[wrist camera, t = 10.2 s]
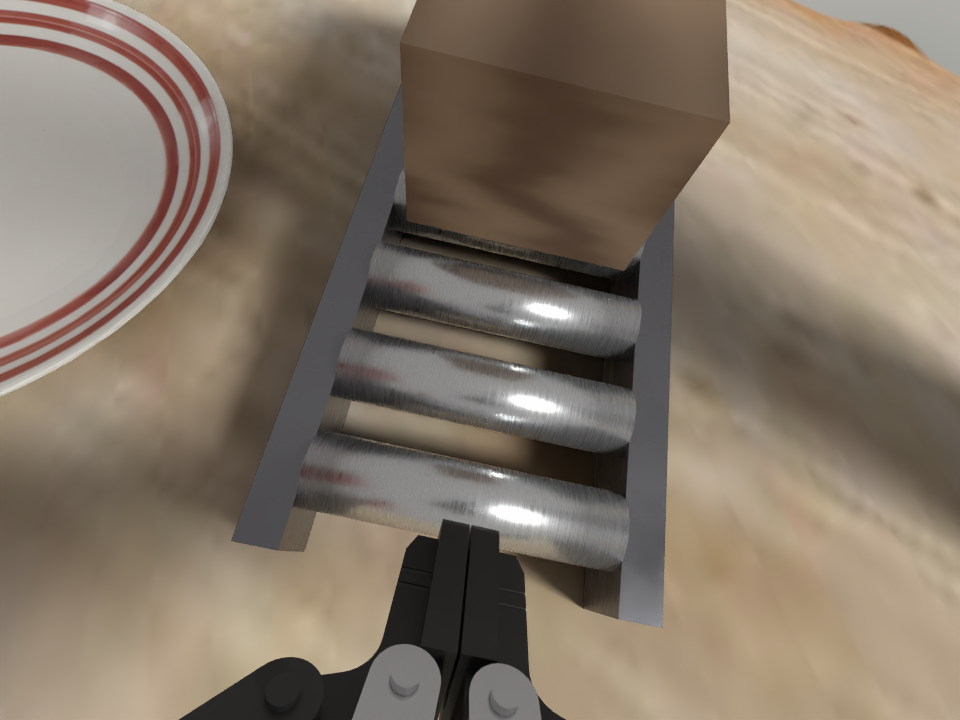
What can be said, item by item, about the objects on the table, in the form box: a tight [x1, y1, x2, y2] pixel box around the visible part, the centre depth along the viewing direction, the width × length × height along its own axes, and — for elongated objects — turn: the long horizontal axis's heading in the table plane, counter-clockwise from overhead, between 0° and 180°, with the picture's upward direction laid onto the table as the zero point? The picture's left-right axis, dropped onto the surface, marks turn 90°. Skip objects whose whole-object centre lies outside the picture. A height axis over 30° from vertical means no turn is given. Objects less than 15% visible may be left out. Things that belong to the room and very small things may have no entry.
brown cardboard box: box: [400, 0, 730, 271], centre depth 20 cm, size 10×14×8 cm
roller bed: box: [231, 83, 674, 628], centre depth 22 cm, size 15×30×9 cm, turn 169°
